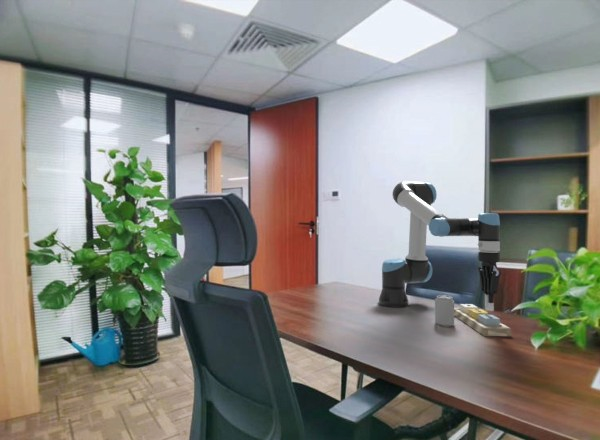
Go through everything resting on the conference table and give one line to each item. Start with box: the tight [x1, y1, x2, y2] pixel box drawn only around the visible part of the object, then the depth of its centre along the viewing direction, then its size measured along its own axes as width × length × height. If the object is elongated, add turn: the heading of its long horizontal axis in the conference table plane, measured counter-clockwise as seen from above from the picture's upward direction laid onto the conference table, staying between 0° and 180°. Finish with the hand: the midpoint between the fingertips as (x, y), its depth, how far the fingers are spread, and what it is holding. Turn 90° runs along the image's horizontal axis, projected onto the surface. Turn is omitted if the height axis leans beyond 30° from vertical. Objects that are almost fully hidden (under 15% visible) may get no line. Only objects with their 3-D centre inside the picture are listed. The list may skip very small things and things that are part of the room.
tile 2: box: [468, 308, 489, 319], centre depth 143 cm, size 6×6×3 cm
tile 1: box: [459, 303, 479, 314], centre depth 152 cm, size 6×6×3 cm
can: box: [434, 294, 455, 328], centre depth 142 cm, size 8×8×12 cm
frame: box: [454, 307, 512, 337], centre depth 143 cm, size 30×10×3 cm, turn 178°
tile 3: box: [478, 314, 501, 326], centre depth 135 cm, size 6×6×3 cm
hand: (489, 310), depth 134 cm, fingers closed
